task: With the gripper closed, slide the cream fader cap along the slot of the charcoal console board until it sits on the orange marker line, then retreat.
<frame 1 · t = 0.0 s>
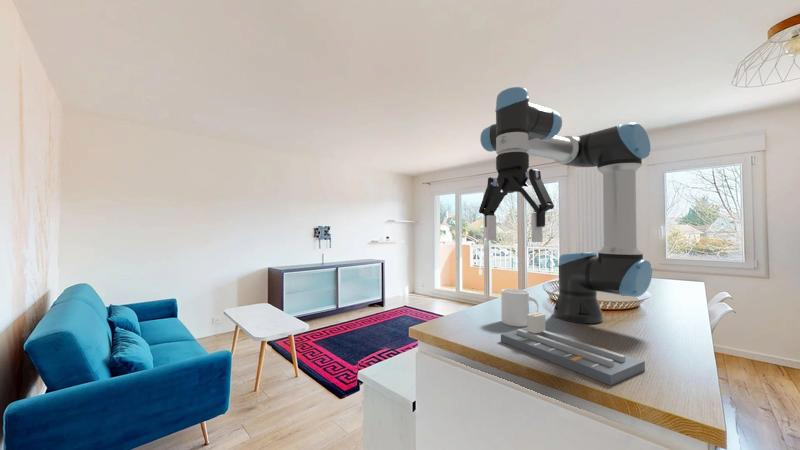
hand: (512, 241, 75), 28 cm above the counter, fingers open, 13 cm apart
fader: (536, 324, 83), point 5 cm above the counter, slide at 0.0 cm
mug: (520, 324, 102), on the counter
console: (564, 354, 76), on the counter
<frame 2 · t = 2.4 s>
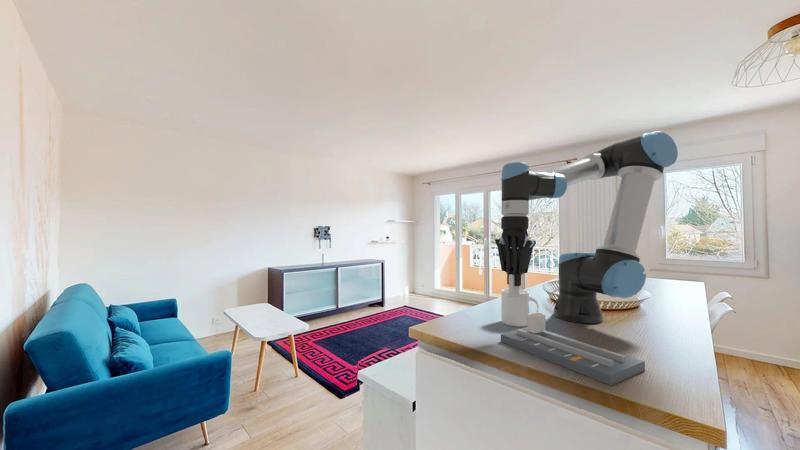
hand: (513, 296, 90), 11 cm above the counter, fingers closed
nothing on the counter moved.
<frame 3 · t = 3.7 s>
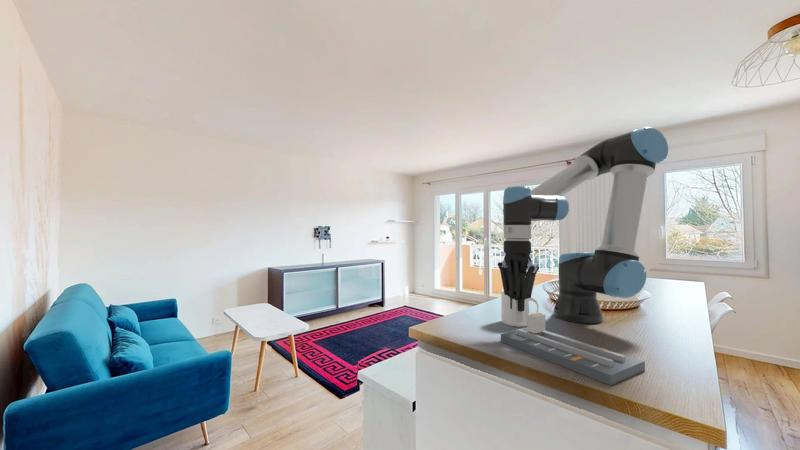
hand: (517, 321, 89), 4 cm above the counter, fingers closed
nothing on the counter moved.
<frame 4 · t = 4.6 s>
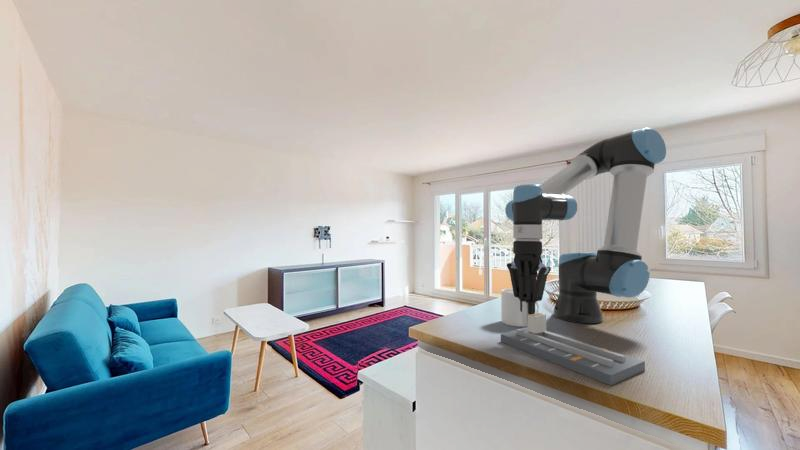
hand: (527, 324, 86), 4 cm above the counter, fingers closed
fader: (537, 325, 83), point 5 cm above the counter, slide at 0.3 cm, touching gripper
everything else where it was.
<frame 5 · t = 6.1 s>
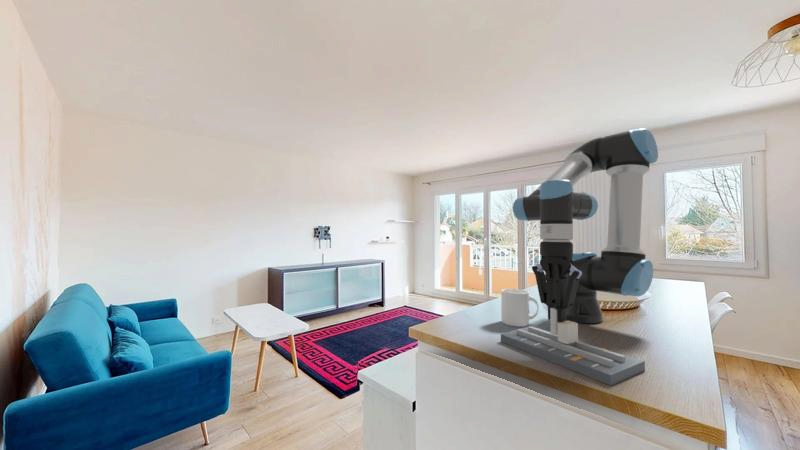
hand: (556, 333, 78), 4 cm above the counter, fingers closed
fader: (567, 334, 76), point 5 cm above the counter, slide at 8.9 cm, touching gripper
everything else where it was.
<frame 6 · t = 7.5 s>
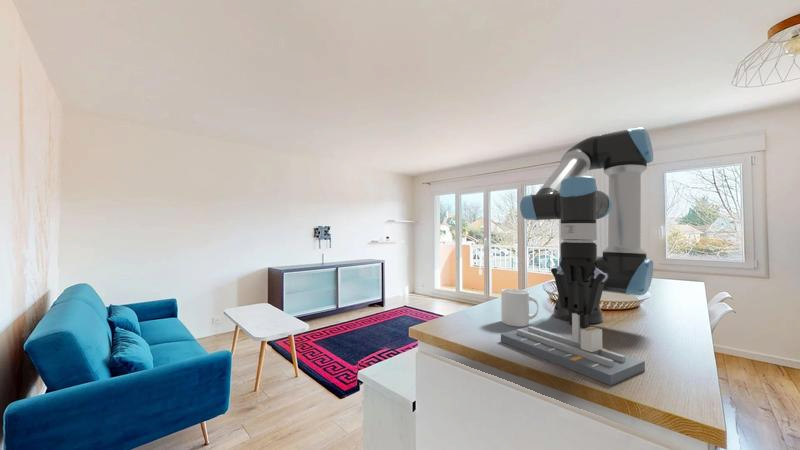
hand: (578, 340, 73), 4 cm above the counter, fingers closed
fader: (591, 341, 71), point 5 cm above the counter, slide at 14.5 cm, touching gripper
everything else where it was.
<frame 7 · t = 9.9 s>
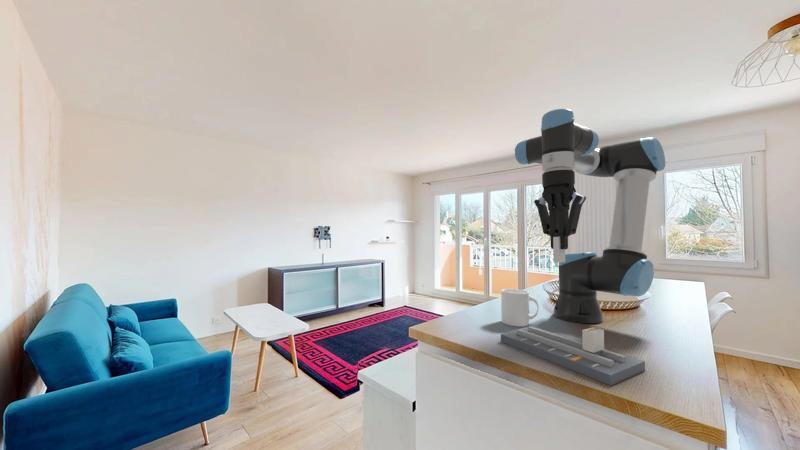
hand: (559, 261, 80), 23 cm above the counter, fingers closed
fader: (593, 342, 70), point 5 cm above the counter, slide at 14.9 cm
everything else where it was.
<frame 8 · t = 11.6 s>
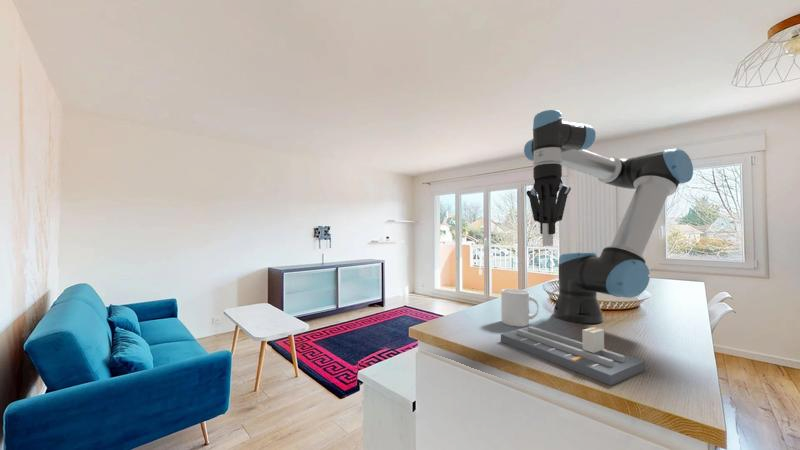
hand: (547, 245, 90), 26 cm above the counter, fingers closed
nothing on the counter moved.
at the end: fader slide at 14.9 cm; mug moved 0.2 cm from its start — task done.
